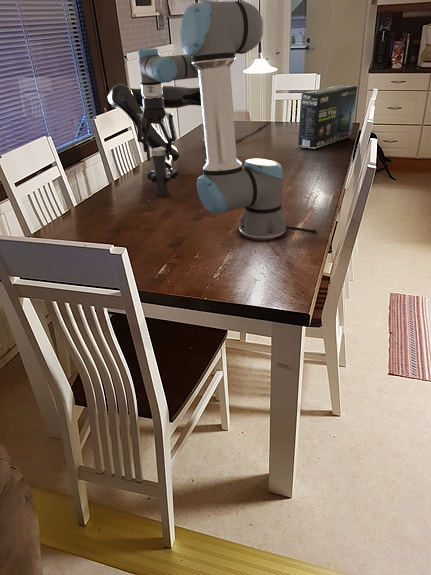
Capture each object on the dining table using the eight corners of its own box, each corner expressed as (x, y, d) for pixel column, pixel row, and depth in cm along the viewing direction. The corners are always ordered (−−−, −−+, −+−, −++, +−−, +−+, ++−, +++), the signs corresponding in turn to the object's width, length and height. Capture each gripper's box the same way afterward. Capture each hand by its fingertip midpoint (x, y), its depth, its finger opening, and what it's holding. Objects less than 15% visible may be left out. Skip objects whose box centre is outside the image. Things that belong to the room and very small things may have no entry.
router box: (314, 151, 231) (318, 94, 217) (296, 148, 237) (299, 92, 224) (352, 138, 251) (358, 85, 238) (335, 135, 258) (340, 83, 245)
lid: (167, 153, 177) (166, 148, 176) (160, 156, 173) (160, 151, 172) (156, 152, 179) (155, 147, 178) (149, 155, 175) (148, 150, 174)
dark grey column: (166, 196, 182) (162, 152, 173) (155, 196, 183) (150, 152, 174) (169, 192, 186) (165, 149, 177) (158, 192, 187) (153, 149, 178)
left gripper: (146, 159, 191) (140, 171, 177) (180, 157, 191) (177, 169, 177) (148, 176, 195) (143, 190, 181) (181, 175, 195) (179, 188, 180)
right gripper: (123, 99, 163) (131, 163, 175) (178, 97, 162) (183, 162, 173) (127, 95, 170) (135, 157, 181) (181, 94, 168) (185, 157, 180)
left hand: (160, 180), depth 179 cm, fingers closed on dark grey column, 4 cm apart
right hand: (159, 160), depth 177 cm, fingers open, 7 cm apart
